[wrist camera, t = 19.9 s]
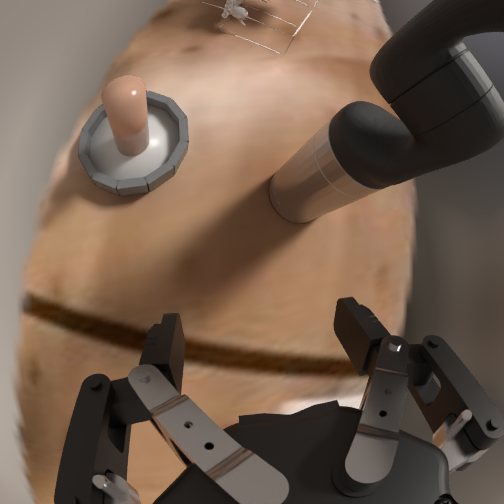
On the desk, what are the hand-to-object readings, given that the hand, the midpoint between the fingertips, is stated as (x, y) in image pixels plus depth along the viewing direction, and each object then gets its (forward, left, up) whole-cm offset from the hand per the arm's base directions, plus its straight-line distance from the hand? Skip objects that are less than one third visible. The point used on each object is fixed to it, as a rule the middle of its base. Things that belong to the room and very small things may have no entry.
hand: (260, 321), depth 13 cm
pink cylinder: (+8, -23, -23) cm, 33 cm away
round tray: (+8, -23, -24) cm, 34 cm away
